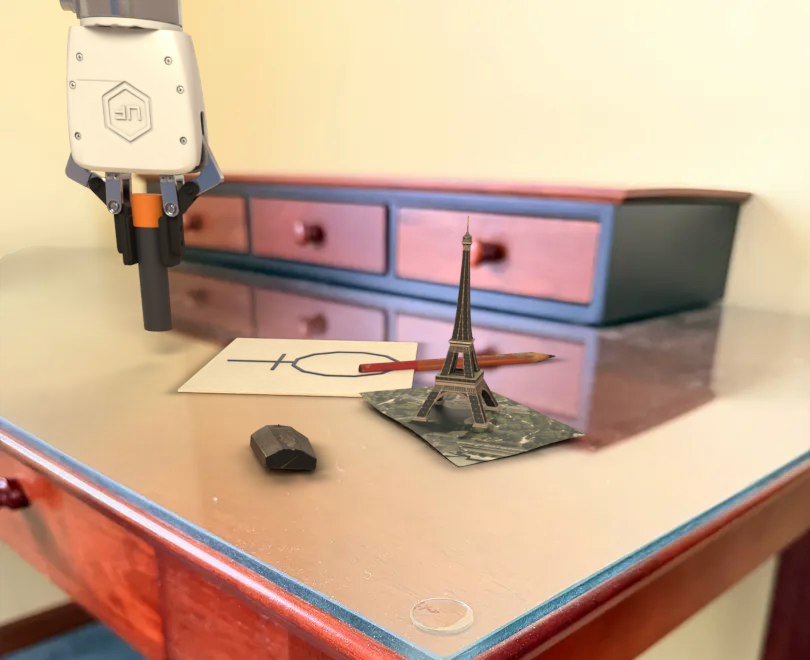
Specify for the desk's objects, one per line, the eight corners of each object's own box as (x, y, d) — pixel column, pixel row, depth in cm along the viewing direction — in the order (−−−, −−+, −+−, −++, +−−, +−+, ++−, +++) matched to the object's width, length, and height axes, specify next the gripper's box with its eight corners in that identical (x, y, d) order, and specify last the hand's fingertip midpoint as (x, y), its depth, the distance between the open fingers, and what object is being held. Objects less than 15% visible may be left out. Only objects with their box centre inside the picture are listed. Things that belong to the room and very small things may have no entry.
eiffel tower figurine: (591, 444, 53) (619, 225, 48) (458, 467, 49) (471, 229, 43) (469, 387, 65) (480, 206, 59) (353, 401, 61) (352, 208, 55)
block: (263, 481, 46) (261, 451, 45) (248, 448, 51) (246, 420, 51) (326, 475, 47) (325, 445, 47) (305, 443, 52) (304, 416, 52)
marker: (138, 331, 71) (125, 194, 66) (148, 325, 73) (136, 192, 69) (168, 332, 71) (157, 195, 66) (177, 327, 73) (167, 194, 69)
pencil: (360, 377, 69) (360, 365, 69) (356, 374, 70) (356, 363, 69) (557, 362, 75) (558, 351, 75) (552, 360, 76) (553, 349, 76)
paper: (177, 392, 63) (177, 388, 63) (236, 339, 81) (236, 336, 81) (410, 398, 63) (410, 394, 63) (417, 344, 81) (417, 341, 81)
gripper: (1, -3, 59) (39, 265, 67) (224, 7, 59) (236, 275, 66) (47, 14, 66) (76, 255, 74) (247, 22, 65) (256, 264, 73)
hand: (152, 262), depth 70 cm, fingers closed on marker, 2 cm apart
